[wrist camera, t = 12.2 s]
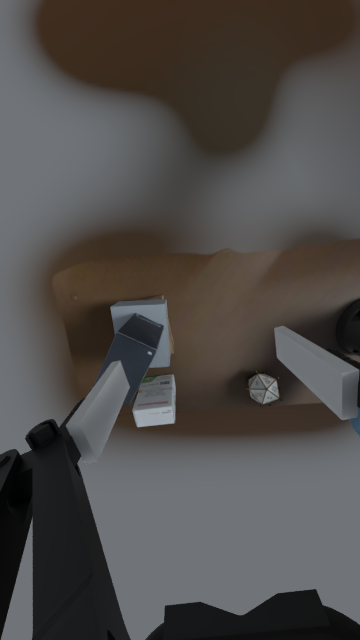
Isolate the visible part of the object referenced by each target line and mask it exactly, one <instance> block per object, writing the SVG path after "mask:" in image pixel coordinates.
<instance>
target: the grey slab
mask: <svg viewBox="0 0 360 640" xmlns="http://www.w3.org/2000/svg"><path fill="white" fill-rule="evenodd" d="M110 308H111V314H112V320H113V326H114V332H115V334H116V332H117V331H118V330H119V329H120V328H121V327H122V326H123V325H124V324H125V323H126V322H127V321H128V320H129V319H130V318H131V317H132V316H133V315H134V314H135V313H137V314H140V315H142V316H144V317H146V318H148V319H150V320H152V321H154V322H156V323H158V324H161V325H164V329H163V332H162V335H161V339H160V343H159V347H158V350H157V353H156V355H155V357H154V359H153V361H152V363H151V365H150V366H149V368H154V367H169V366H170V343H169V329H168V315H167V300H166V299H159V300H139V301H119V302H117V303H116V304H114V305H112V306H111V307H110Z"/></svg>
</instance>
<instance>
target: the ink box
mask: <svg viewBox="0 0 360 640" xmlns="http://www.w3.org/2000/svg"><path fill="white" fill-rule="evenodd" d="M175 400H176V386H175V379H174V375H173V374H169V375H161V376H153V377H145V378H143V380H142V382H141V384H140V388H139V391H138V394H137V397H136V400H135V403H134V407H133V410H132V411H133V415H134V419H135V422H136V425H137V427H144V426H153V425H163V424H172V423H175Z"/></svg>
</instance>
